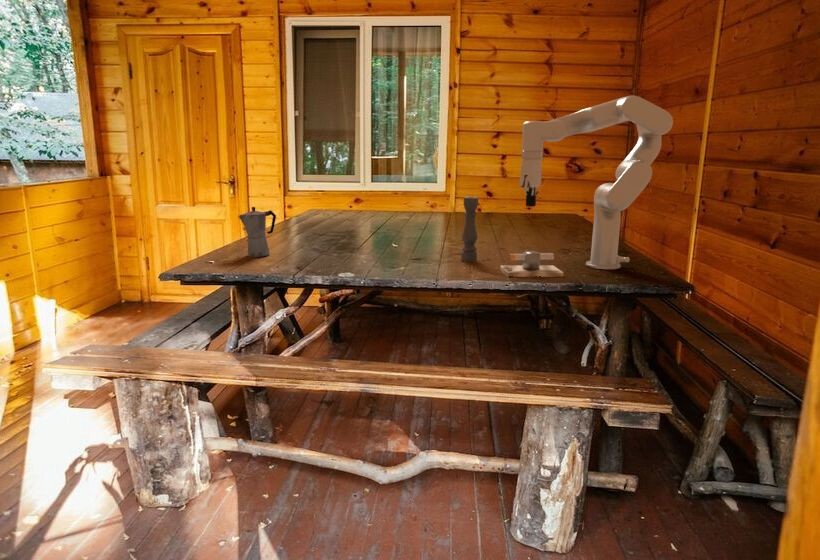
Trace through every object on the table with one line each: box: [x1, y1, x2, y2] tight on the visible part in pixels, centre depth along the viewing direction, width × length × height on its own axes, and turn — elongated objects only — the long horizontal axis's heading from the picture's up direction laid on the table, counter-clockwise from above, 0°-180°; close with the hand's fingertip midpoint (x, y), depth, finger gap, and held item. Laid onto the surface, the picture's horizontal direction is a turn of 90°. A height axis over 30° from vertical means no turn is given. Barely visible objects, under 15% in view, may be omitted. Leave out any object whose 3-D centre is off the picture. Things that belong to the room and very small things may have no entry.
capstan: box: [508, 250, 555, 270], centre depth 203 cm, size 16×6×6 cm, turn 99°
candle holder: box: [460, 196, 479, 263], centre depth 222 cm, size 6×6×25 cm
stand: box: [499, 264, 564, 278], centre depth 204 cm, size 20×12×2 cm, turn 93°
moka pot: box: [238, 206, 277, 258], centre depth 229 cm, size 10×15×20 cm, turn 127°
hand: (530, 206), depth 210 cm, fingers closed
